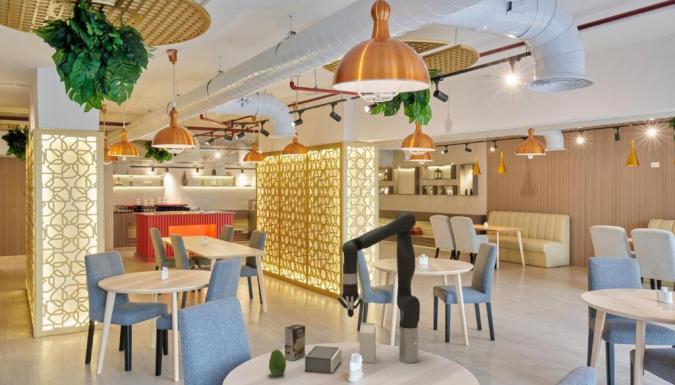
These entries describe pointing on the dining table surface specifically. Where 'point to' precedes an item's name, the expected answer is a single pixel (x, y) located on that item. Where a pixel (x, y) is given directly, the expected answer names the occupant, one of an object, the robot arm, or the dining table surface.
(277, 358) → the avocado
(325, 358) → the player housing
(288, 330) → the coffee box
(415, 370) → the dining table surface
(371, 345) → the milk carton
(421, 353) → the dining table surface
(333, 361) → the tray
